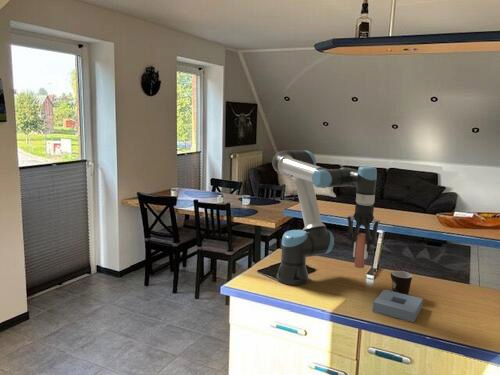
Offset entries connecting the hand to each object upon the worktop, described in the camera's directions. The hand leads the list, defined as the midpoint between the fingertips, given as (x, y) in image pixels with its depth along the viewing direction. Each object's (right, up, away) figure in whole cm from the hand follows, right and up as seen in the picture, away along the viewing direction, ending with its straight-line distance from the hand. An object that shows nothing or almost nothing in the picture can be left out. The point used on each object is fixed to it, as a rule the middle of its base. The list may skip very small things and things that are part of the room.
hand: (360, 257), depth 179 cm
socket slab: (+14, -21, -6) cm, 26 cm away
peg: (0, -4, +1) cm, 4 cm away
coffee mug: (+20, -18, +9) cm, 29 cm away
